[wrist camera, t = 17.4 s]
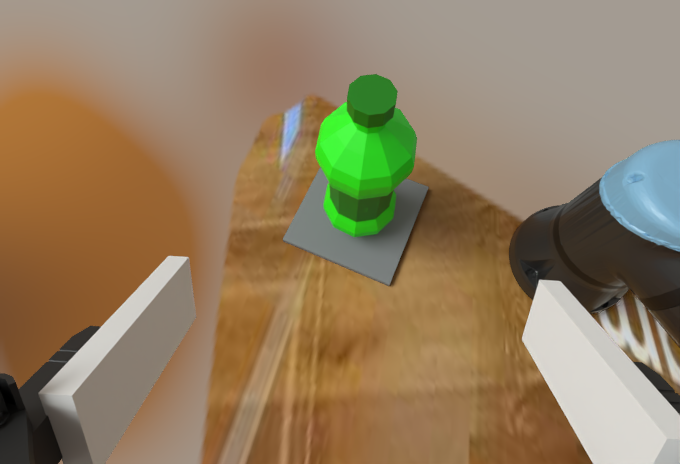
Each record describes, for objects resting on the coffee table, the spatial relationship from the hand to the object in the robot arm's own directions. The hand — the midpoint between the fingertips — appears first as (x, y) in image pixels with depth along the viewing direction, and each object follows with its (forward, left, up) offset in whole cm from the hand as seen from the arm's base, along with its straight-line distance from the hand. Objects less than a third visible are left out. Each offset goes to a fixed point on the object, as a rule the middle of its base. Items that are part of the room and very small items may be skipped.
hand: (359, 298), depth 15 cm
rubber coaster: (+6, -19, -38) cm, 43 cm away
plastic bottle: (+6, -19, -37) cm, 42 cm away
